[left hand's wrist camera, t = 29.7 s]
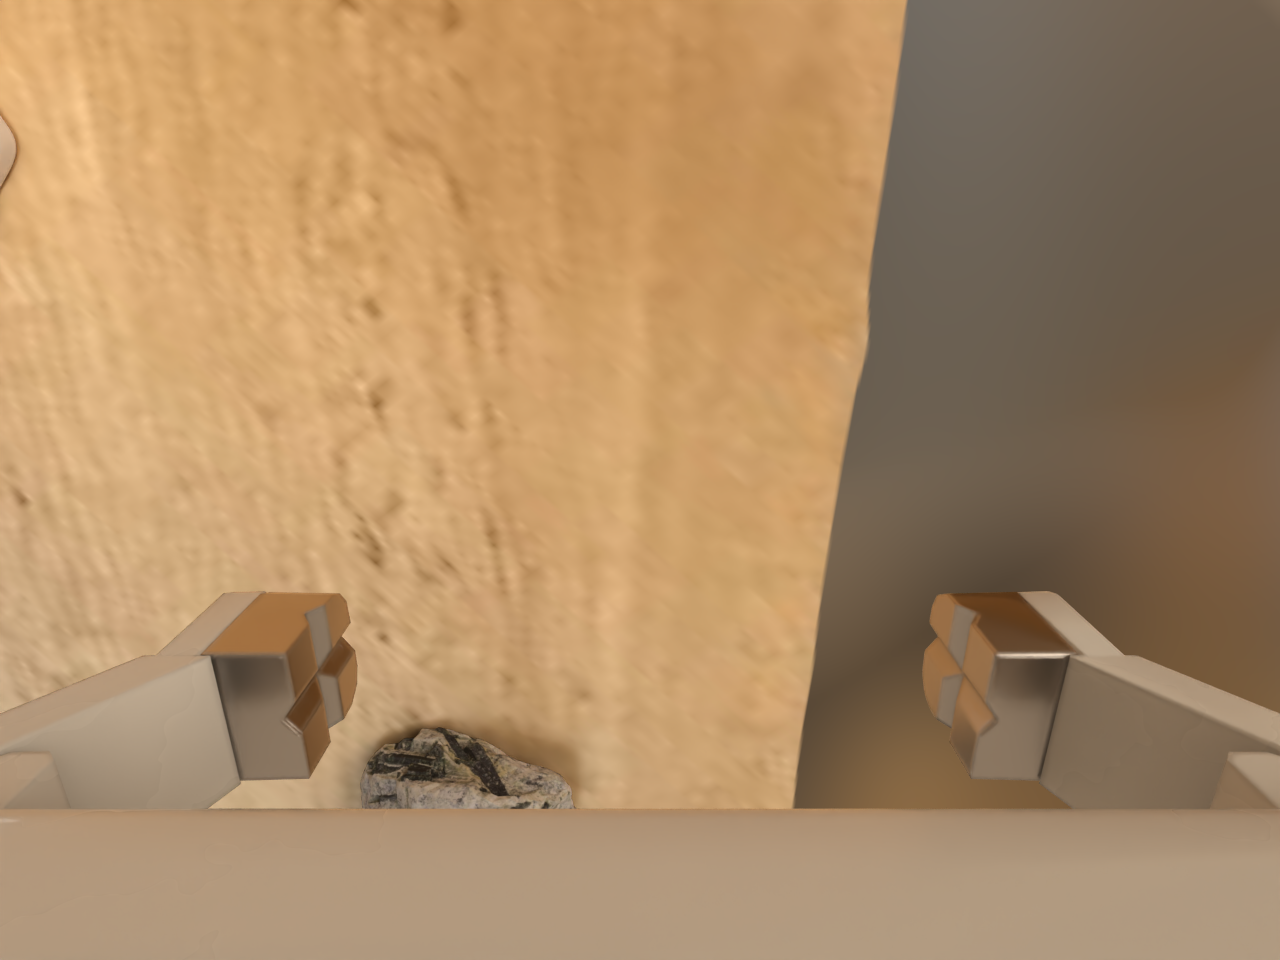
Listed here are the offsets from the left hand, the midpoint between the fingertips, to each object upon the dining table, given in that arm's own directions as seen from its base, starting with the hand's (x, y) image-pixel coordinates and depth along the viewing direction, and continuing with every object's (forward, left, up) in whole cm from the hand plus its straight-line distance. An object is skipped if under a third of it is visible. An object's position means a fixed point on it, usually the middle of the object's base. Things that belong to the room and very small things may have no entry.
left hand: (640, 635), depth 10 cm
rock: (+29, -20, -33) cm, 48 cm away
